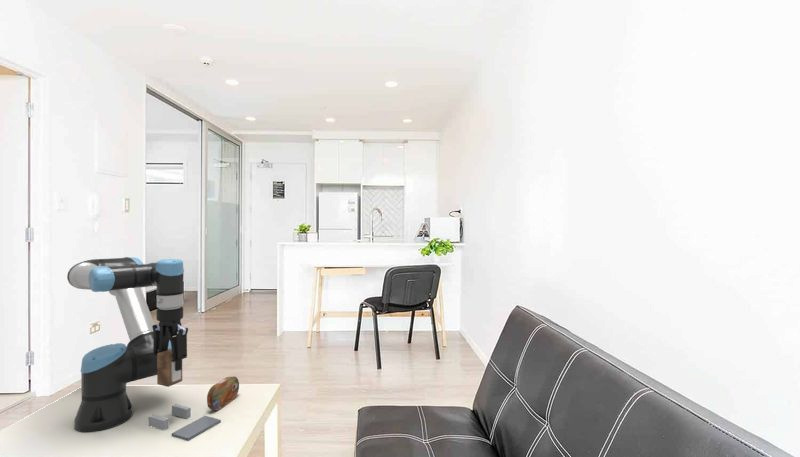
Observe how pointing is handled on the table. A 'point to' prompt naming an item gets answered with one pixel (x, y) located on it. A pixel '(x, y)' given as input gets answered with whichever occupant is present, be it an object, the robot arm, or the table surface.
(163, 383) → the walnut block
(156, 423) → the cradle
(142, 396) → the table surface
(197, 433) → the slate plate
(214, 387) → the tin
